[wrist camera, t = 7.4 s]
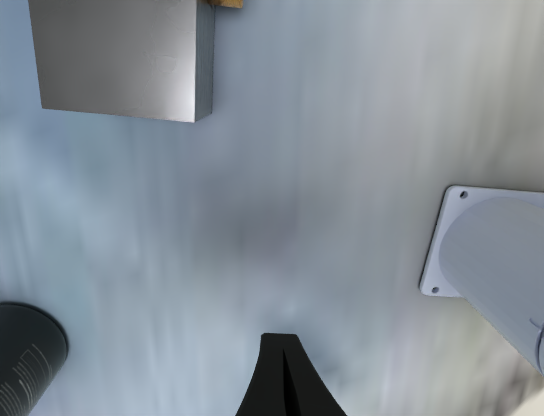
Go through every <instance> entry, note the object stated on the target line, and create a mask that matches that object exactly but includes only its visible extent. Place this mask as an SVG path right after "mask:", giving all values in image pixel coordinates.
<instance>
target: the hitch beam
mask: <svg viewBox="0 0 544 416" xmlns="http://www.w3.org/2000/svg"><path fill="white" fill-rule="evenodd" d="M28 2H29V10H30V18H31V25H32V33H33V41H34V49H35V57H36V64H37V72H38V80H39V88H40V96H41V103H42V108H43V109H54V110H65V111H76V112H87V113H98V114H109V115H119V116H130V117H141V118H152V119H163V120H174V121H185V122H196V121H198V120H200V119H202V118H203V117H205V116H207V115H209V114H211V113H212V88H213V58H214V29H215V5H209V3H208V0H28Z"/></svg>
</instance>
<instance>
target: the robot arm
mask: <svg viewBox="0 0 544 416" xmlns="http://www.w3.org/2000/svg"><path fill="white" fill-rule="evenodd" d="M463 191H464V195H463V196H462V197H460V194H461V192H463ZM434 287H436V288H435V289H434V290H432V289H433V288H434ZM419 289H420V291H421V292H422V294H424V295H427V296H445V297H463V298H465V299H466V300H467V301H468V302H469V303H470V304H471V305H472V306H473V307H474V308H475V309H476V310H477V311H478V312H479V313H480V314H481V315H482V316H483V317H484V318H485V319H486V320H487V321H488V322H489V323H490V324H491V325H492V326H493V327H494V328H495V329H496V330H497V331H498V332H499V333H500V334H501V335H502V336H503V337H504V338H505V339H506V340H507V341H508V342H509V343H510V344H511V345H512V346H513V347H514V348H515V349H516V350H517V351H518V352H519V353H520V354H521V355H522V356H523V357H524V358H525V359H526V360H527V361H528V362H529V363H530V364H531V365H532V366H533V367H534V368H535V369H536V370H537V371H538V372H539V373H540V374H541V375H542V376H543V377H544V193H542V192H530V191H518V190H506V189H494V188H482V187H470V186H457V185H454V186H451V187H449V188H448V189H447V191H446V194H445V197H444V201H443V204H442V208H441V212H440V215H439V219H438V222H437V226H436V229H435V233H434V237H433V240H432V244H431V247H430V251H429V254H428V258H427V262H426V265H425V269H424V272H423V276H422V279H421V283H420V287H419ZM235 416H347V415H346V414H345V412H344V411H343V410H342V409H341V407H340V406H339V405H338V403H337V402H336V400H335V399H334V398H333V396H332V395H331V393H330V392H329V390H328V389H327V387H326V386H325V384H324V383H323V381H322V380H321V378H320V376H319V375H318V373H317V372H316V370H315V368H314V367H313V365H312V363H311V361H310V360H309V358H308V356H307V354H306V352H305V350H304V348H303V346H302V344H301V342H300V340H299V338H298V336H297V335H296V334H277V333H264V334H262V335H261V343H260V352H259V357H258V361H257V364H256V367H255V370H254V373H253V376H252V379H251V382H250V384H249V387H248V389H247V392H246V394H245V396H244V399H243V401H242V403H241V405H240V407H239V409H238V411H237V413H236V415H235Z"/></svg>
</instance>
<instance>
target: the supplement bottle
mask: <svg viewBox="0 0 544 416" xmlns="http://www.w3.org/2000/svg"><path fill="white" fill-rule="evenodd" d="M66 352H67V349H66V342H65V339H64V336H63V334H62V332H61V331H60V329H59V328H58V327H57V325H56V324H55V323H54V322H53V321H52V320H50V319H49V318H48V317H46V316H45V315H43V314H42V313H40V312H38V311H36V310H33V309H31V308H27V307H24V306H19V305H0V416H28V415H29V413H30V412H31V411H32V409H33V408H34V406H35V405H36V404H37V402H38V401H39V399H40V398H41V396H42V395H43V394H44V392H45V391H46V389H47V388H48V386H49V385H50V384H51V382H52V381H53V379H54V378H55V376H56V375H57V373H58V372H59V371H60V369H61V367H62V366H63V364H64V361H65V358H66Z"/></svg>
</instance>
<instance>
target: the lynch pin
mask: <svg viewBox="0 0 544 416" xmlns="http://www.w3.org/2000/svg"><path fill="white" fill-rule="evenodd" d="M208 3H209V5H218V6H226V7H235V8H242V7H243V0H208Z"/></svg>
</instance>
